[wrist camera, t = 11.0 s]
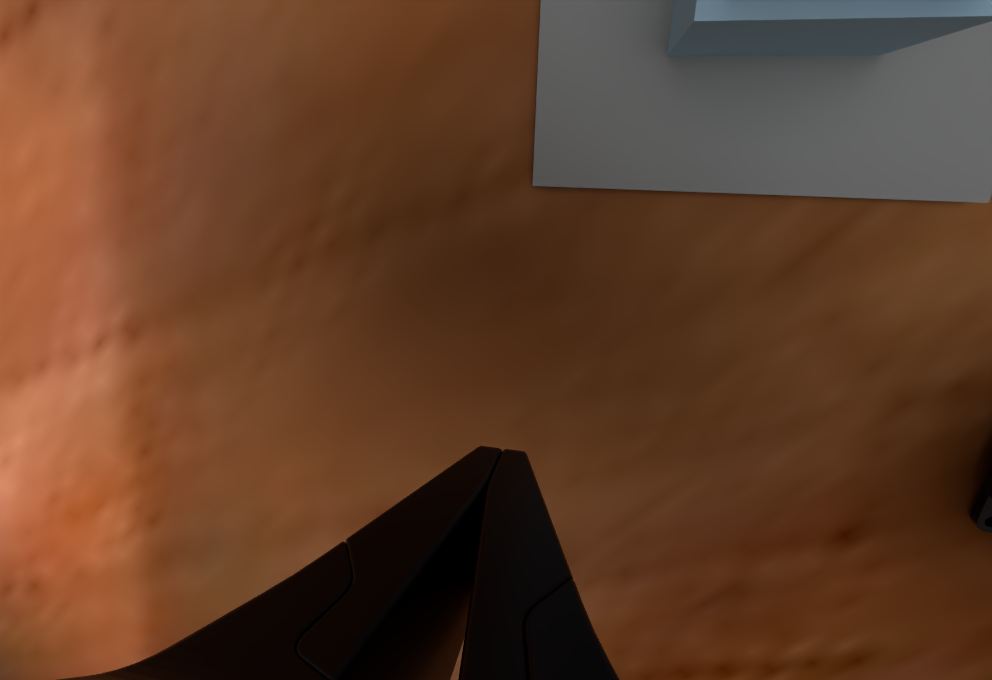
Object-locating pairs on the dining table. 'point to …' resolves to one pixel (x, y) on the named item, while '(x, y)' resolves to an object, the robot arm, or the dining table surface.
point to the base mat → (757, 113)
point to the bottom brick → (816, 25)
